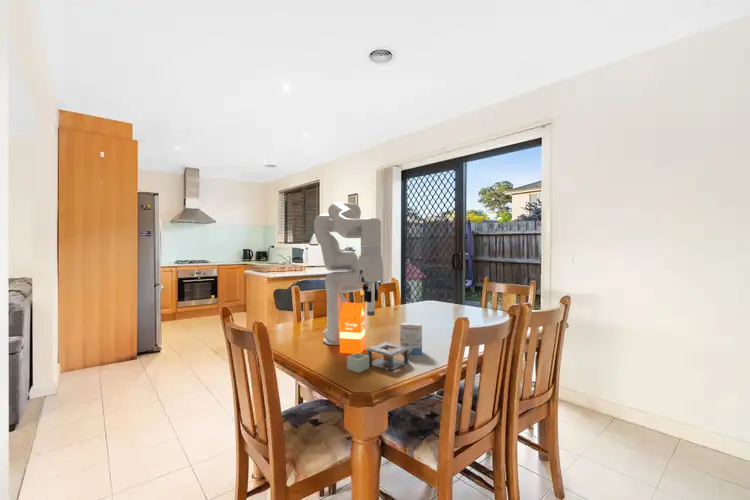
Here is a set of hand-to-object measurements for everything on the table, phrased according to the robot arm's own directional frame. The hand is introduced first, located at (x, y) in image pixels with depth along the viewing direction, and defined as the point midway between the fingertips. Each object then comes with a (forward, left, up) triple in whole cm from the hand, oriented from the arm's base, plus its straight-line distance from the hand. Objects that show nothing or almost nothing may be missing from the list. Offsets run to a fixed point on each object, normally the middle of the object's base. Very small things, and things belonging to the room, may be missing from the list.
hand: (370, 300), depth 131 cm
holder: (0, -7, -24) cm, 24 cm away
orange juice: (-16, +7, -24) cm, 30 cm away
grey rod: (0, 0, -5) cm, 5 cm away
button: (+5, +4, -22) cm, 23 cm away
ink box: (+4, +21, -24) cm, 32 cm away
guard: (+5, +4, -24) cm, 24 cm away
